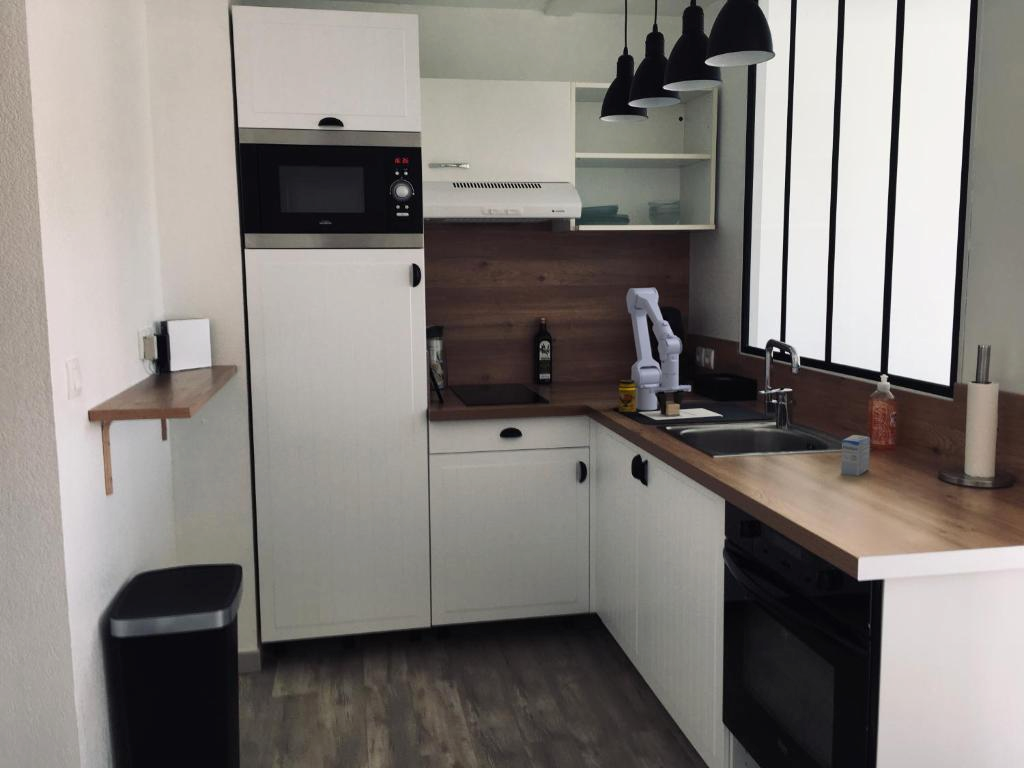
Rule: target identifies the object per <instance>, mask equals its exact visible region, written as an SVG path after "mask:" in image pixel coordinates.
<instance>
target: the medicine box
mask: <svg viewBox="0 0 1024 768" xmlns="http://www.w3.org/2000/svg"><path fill="white" fill-rule="evenodd" d="M870 451H871V437H869V436H865V435H860V434H859V435H858V434H852V435H850V436H848V437H846V438H844V439H842V440H841V465H840V466H841V467H840V470H841V471H840V473H841V474H842V475H846V476H847V475H848V476H853V477H854V476H855V477H857V476H861V475H862V474H863V473H865V472H867V471H869V470H870V457H871V456H870V455H871V454H870V453H871V452H870Z"/></svg>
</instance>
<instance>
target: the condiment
mask: <svg viewBox="0 0 1024 768" xmlns="http://www.w3.org/2000/svg"><path fill="white" fill-rule="evenodd" d="M618 411H619V412H621V413H622V412H624V413H634V412H637V408H636V387H635V381H634V380H632V379H621V380H619V388H618Z"/></svg>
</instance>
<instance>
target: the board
mask: <svg viewBox="0 0 1024 768" xmlns="http://www.w3.org/2000/svg"><path fill="white" fill-rule="evenodd" d="M638 413H639V414H641V415H643V416H646V417H648V418H650V419H653V420H655V421H661V420H664V421H665V420H675V419H693V418H705V417H706V418H707V417H722V418H723V416H724V415H722V414H719V413H717V412H714V411H711V410H708V409H705V408H687V409H680V416H677V417H667V416H665V415H662V414H660V410H655V411H654V410H651V411H640V412H638Z"/></svg>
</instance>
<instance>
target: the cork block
mask: <svg viewBox="0 0 1024 768" xmlns="http://www.w3.org/2000/svg"><path fill="white" fill-rule="evenodd" d="M680 407H681V405H679V404H677V403H674V401H666V414H662V413H661V408H660V410H659V411H660V414H662V415H665V416H667V417H677V416H680V410H681V409H680Z"/></svg>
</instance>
